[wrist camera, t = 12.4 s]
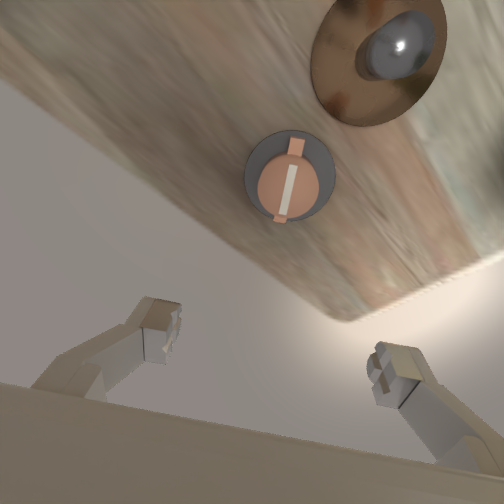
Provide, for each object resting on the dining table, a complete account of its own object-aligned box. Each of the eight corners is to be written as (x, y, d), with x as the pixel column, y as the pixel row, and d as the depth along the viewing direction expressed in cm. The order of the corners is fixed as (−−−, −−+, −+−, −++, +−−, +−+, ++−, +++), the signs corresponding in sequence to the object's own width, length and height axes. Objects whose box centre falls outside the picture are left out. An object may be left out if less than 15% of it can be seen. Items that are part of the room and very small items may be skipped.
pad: (239, 210, 34) (238, 212, 33) (252, 122, 29) (251, 122, 28) (320, 226, 34) (320, 228, 33) (347, 140, 29) (348, 140, 28)
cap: (268, 130, 29) (265, 136, 25) (326, 141, 28) (331, 148, 25) (255, 211, 33) (250, 226, 29) (304, 220, 33) (306, 237, 29)
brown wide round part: (298, 114, 28) (301, 121, 21) (331, -36, 22) (349, -93, 15) (406, 134, 28) (445, 148, 21) (468, -13, 22) (548, -60, 15)
